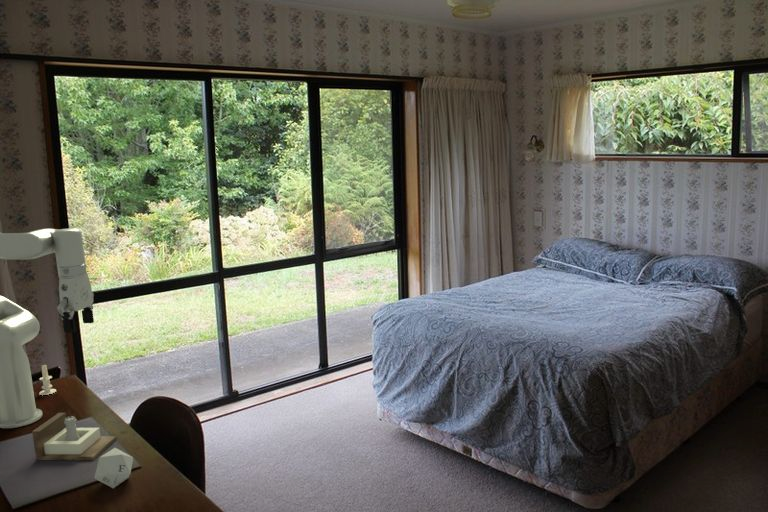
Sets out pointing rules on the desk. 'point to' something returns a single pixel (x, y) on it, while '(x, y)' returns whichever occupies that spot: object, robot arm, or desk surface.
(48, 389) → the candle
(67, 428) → the rook chess piece
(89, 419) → the desk surface
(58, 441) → the socket block
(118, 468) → the die
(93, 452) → the wooden bookend
